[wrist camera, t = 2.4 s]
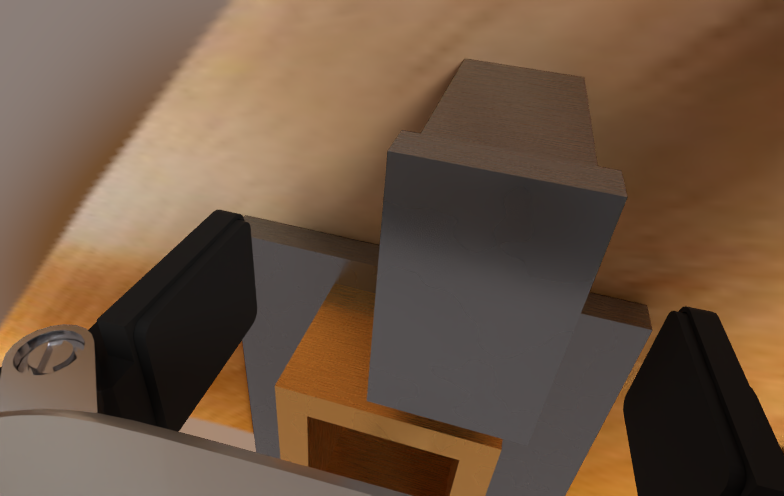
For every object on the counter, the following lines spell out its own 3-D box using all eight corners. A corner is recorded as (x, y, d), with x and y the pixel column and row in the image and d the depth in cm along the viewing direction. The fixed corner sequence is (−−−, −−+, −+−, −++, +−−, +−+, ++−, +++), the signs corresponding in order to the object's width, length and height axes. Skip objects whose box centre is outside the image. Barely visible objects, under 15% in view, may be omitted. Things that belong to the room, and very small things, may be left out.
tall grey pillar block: (469, 30, 17) (387, 151, 9) (593, 49, 16) (627, 196, 8) (441, 206, 21) (366, 400, 13) (539, 226, 20) (527, 445, 12)
